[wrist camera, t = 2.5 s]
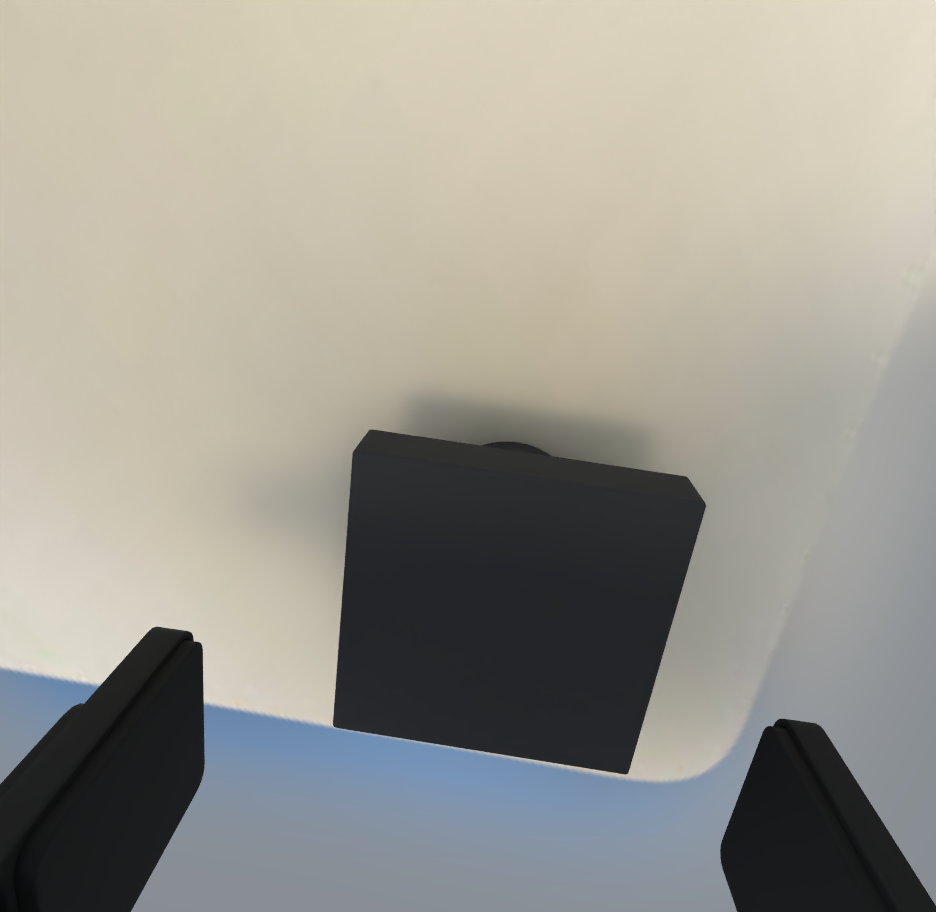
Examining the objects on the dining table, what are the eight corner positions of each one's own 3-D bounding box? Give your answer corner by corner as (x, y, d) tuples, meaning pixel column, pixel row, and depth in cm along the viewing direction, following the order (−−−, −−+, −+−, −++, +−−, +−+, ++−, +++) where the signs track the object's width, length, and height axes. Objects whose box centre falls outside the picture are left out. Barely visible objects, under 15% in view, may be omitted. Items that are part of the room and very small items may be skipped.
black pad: (647, 417, 18) (708, 504, 12) (597, 623, 20) (628, 776, 15) (403, 381, 18) (352, 450, 12) (383, 590, 20) (331, 728, 15)
